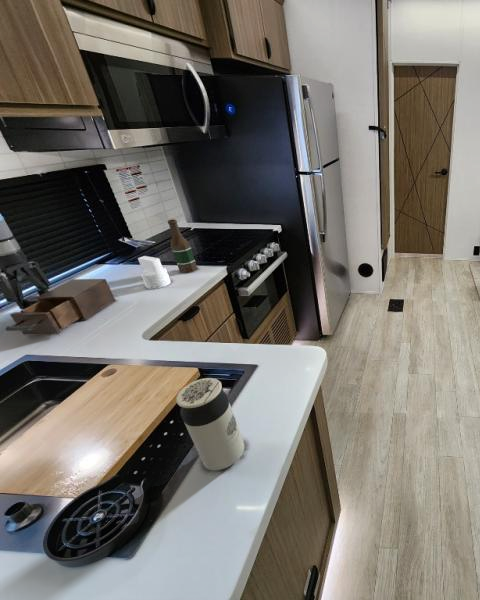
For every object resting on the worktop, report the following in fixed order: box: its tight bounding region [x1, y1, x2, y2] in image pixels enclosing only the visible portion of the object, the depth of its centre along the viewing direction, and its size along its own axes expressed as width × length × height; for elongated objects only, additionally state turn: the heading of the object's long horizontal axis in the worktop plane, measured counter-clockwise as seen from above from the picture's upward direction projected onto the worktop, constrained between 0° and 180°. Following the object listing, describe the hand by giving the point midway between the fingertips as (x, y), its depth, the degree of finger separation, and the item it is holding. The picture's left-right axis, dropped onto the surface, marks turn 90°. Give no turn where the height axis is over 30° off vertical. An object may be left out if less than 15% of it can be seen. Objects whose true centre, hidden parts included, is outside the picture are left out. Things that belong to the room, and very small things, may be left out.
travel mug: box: [175, 377, 245, 471], centre depth 66 cm, size 8×8×18 cm
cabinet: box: [36, 278, 117, 321], centre depth 122 cm, size 15×13×10 cm
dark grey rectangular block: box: [24, 295, 39, 305], centre depth 123 cm, size 4×7×5 cm, turn 91°
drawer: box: [5, 299, 82, 336], centre depth 110 cm, size 18×11×8 cm, turn 1°
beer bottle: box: [167, 219, 198, 274], centre depth 151 cm, size 8×8×24 cm
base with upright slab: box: [137, 255, 172, 290], centre depth 141 cm, size 9×9×12 cm
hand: (41, 310), depth 124 cm, fingers open, 7 cm apart
